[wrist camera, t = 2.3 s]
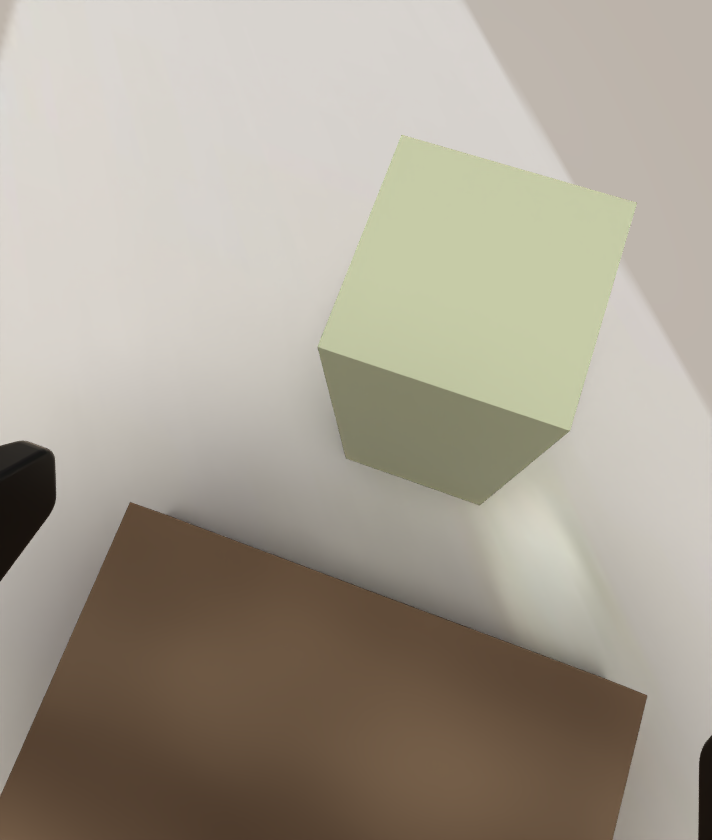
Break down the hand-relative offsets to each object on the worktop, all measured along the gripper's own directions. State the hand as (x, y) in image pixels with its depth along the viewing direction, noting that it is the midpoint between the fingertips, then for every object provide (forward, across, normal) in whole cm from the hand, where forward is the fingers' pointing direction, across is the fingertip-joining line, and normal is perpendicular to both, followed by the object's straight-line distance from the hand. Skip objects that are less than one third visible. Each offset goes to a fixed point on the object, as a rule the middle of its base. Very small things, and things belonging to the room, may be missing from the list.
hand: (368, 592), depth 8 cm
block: (+12, 0, +4) cm, 13 cm away
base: (+3, 0, +14) cm, 14 cm away
